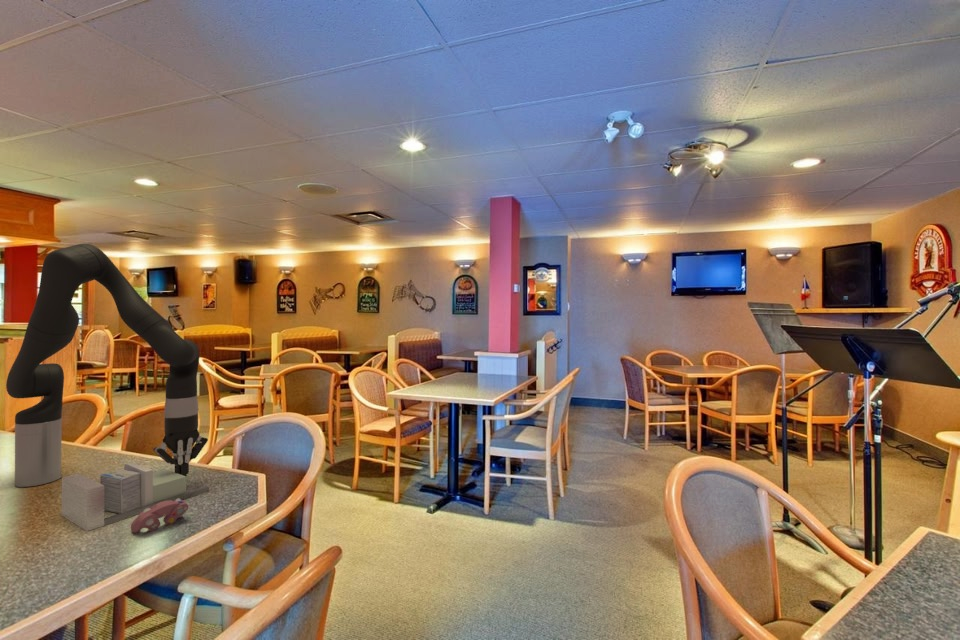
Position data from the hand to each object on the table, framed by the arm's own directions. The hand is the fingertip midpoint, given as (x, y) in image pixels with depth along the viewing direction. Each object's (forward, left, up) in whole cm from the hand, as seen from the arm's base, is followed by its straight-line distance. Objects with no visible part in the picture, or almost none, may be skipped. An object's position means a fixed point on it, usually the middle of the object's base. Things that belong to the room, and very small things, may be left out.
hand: (181, 476), depth 116 cm
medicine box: (0, -14, -4) cm, 14 cm away
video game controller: (+19, -13, -4) cm, 23 cm away
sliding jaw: (0, -6, -3) cm, 7 cm away
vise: (0, -9, -4) cm, 10 cm away
